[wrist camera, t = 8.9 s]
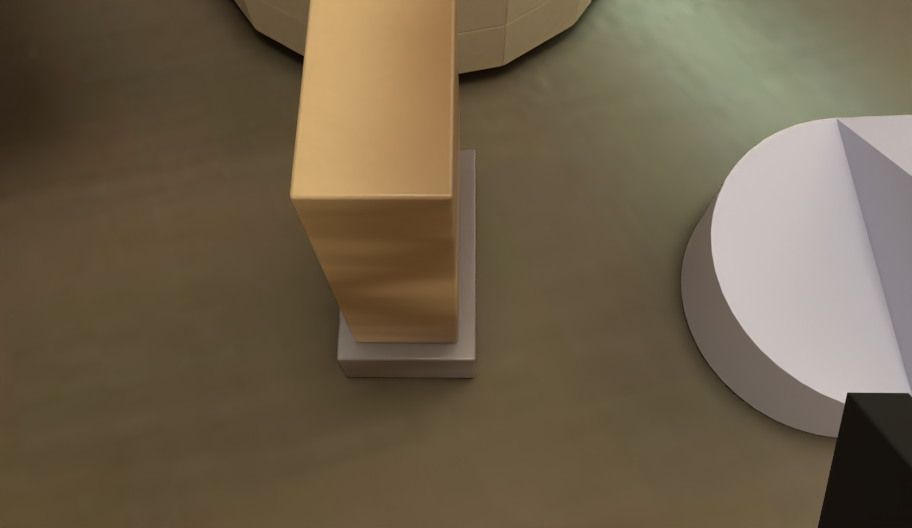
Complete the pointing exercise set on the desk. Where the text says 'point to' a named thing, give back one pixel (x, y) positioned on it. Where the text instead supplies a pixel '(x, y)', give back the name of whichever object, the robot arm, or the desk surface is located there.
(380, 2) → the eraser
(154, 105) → the desk surface
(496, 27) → the bowl
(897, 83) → the desk surface
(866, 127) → the wedge on round base
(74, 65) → the desk surface
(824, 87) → the desk surface
